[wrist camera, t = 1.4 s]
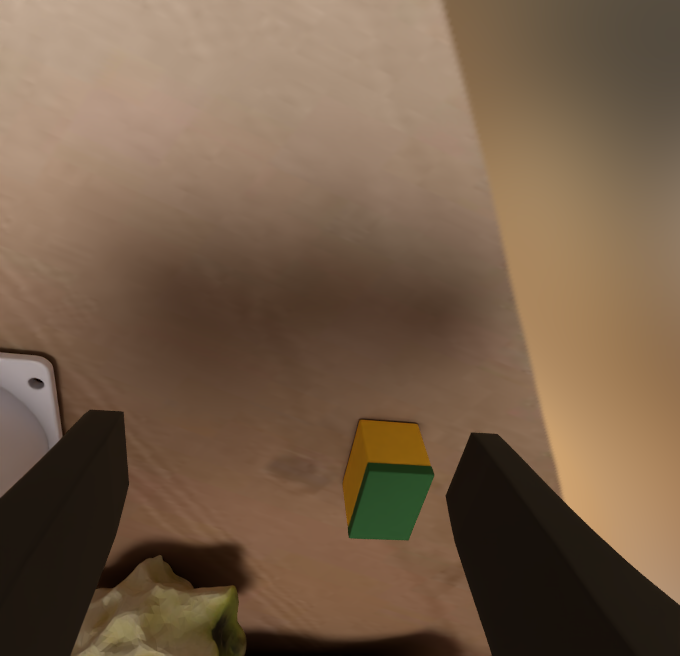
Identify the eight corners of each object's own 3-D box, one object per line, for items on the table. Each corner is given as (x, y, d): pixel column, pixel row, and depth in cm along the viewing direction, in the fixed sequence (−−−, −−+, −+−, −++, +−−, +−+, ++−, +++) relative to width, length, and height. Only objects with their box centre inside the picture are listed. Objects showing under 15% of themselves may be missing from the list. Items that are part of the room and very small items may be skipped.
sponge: (395, 486, 24) (408, 541, 21) (341, 483, 23) (348, 538, 21) (418, 422, 22) (435, 475, 19) (359, 418, 21) (369, 471, 19)
